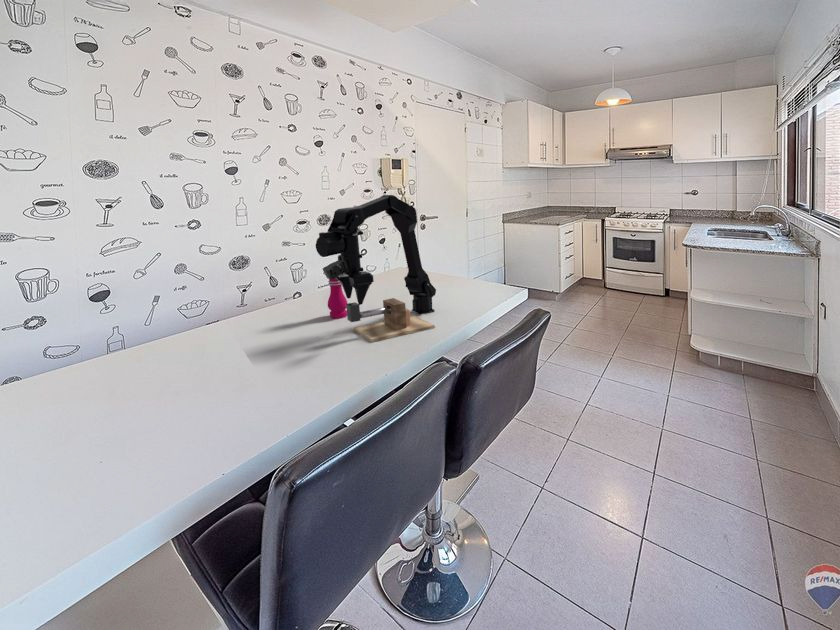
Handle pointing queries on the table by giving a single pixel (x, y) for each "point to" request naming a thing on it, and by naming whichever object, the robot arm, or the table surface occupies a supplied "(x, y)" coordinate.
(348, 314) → the shaft
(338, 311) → the pepper mill
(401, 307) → the bearing block
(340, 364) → the table surface
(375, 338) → the base plate
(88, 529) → the table surface
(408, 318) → the spacer
